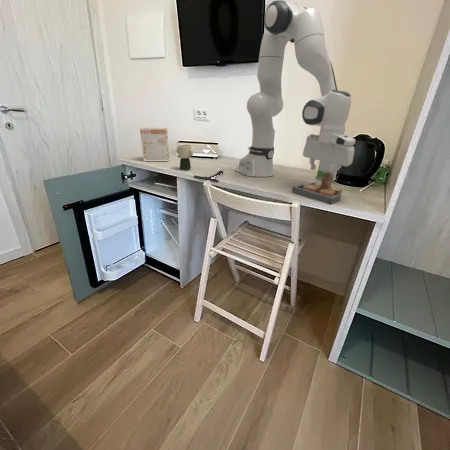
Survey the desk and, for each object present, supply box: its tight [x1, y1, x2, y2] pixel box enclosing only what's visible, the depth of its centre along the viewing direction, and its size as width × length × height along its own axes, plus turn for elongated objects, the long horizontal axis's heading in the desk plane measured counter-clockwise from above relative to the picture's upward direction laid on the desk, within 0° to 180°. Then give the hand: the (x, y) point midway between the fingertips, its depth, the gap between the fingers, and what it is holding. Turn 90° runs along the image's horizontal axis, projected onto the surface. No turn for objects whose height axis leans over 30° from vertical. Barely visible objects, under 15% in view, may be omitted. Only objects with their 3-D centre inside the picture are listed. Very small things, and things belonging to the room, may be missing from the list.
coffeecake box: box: [139, 127, 170, 160], centre depth 160 cm, size 15×7×20 cm, turn 91°
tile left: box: [304, 184, 320, 194], centre depth 111 cm, size 4×4×3 cm
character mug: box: [176, 144, 194, 170], centre depth 143 cm, size 11×7×13 cm, turn 59°
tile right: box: [319, 189, 335, 197], centre depth 107 cm, size 4×4×3 cm
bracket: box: [193, 170, 224, 183], centre depth 132 cm, size 14×15×3 cm
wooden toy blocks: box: [309, 172, 343, 196], centre depth 110 cm, size 13×3×9 cm, turn 41°
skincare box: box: [316, 160, 337, 182], centre depth 129 cm, size 8×7×16 cm
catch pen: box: [291, 183, 342, 205], centre depth 107 cm, size 18×7×2 cm, turn 41°
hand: (322, 172), depth 107 cm, fingers open, 8 cm apart
